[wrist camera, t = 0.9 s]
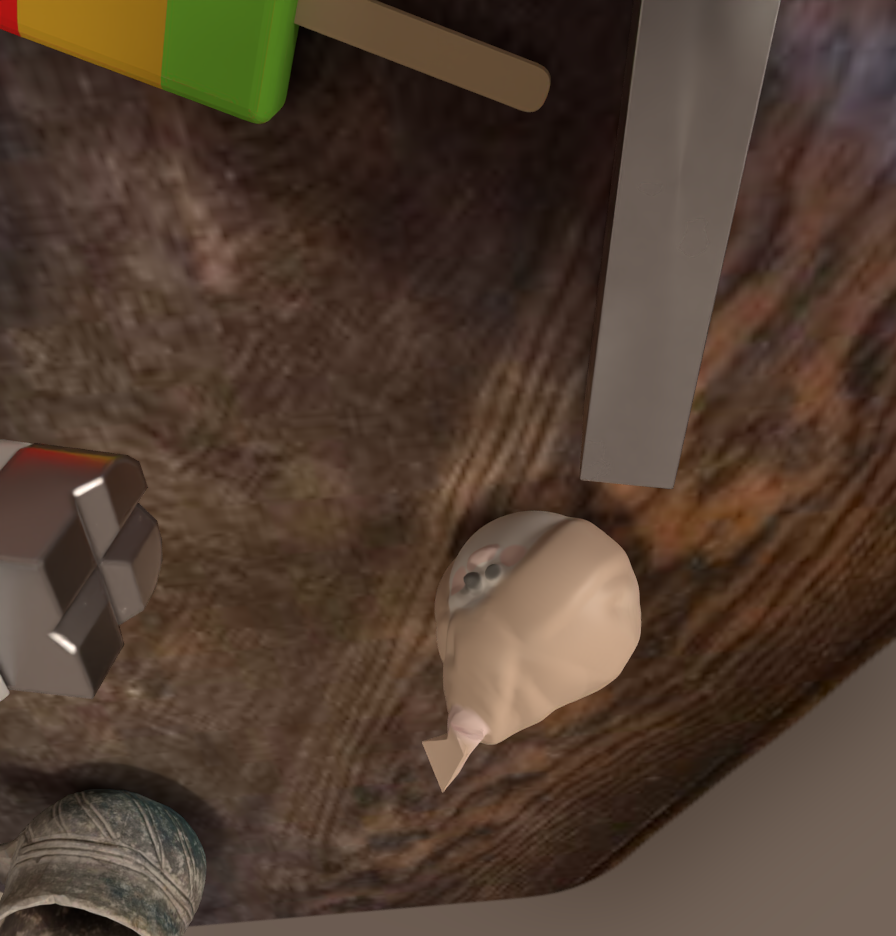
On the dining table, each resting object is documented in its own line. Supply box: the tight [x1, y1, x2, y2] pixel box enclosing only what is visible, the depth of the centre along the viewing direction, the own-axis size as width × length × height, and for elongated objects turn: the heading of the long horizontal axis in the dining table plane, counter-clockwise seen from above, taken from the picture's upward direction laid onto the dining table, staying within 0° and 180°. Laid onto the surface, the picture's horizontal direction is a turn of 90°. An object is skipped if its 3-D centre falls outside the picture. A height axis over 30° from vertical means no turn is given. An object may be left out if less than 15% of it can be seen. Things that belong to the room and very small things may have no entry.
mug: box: [0, 789, 206, 936], centre depth 41 cm, size 10×12×10 cm
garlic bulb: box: [422, 511, 641, 793], centre depth 26 cm, size 7×6×8 cm
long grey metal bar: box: [580, 0, 781, 489], centre depth 18 cm, size 16×2×4 cm, turn 0°
